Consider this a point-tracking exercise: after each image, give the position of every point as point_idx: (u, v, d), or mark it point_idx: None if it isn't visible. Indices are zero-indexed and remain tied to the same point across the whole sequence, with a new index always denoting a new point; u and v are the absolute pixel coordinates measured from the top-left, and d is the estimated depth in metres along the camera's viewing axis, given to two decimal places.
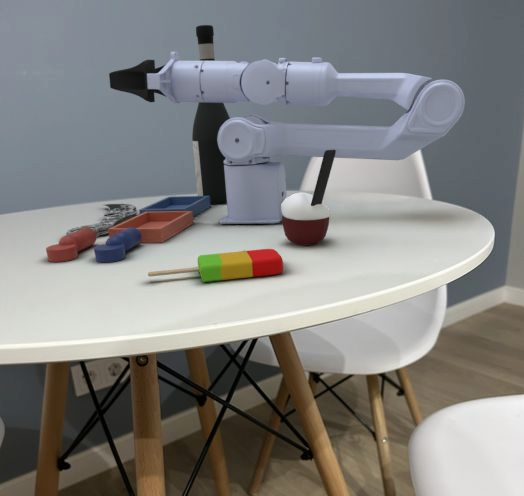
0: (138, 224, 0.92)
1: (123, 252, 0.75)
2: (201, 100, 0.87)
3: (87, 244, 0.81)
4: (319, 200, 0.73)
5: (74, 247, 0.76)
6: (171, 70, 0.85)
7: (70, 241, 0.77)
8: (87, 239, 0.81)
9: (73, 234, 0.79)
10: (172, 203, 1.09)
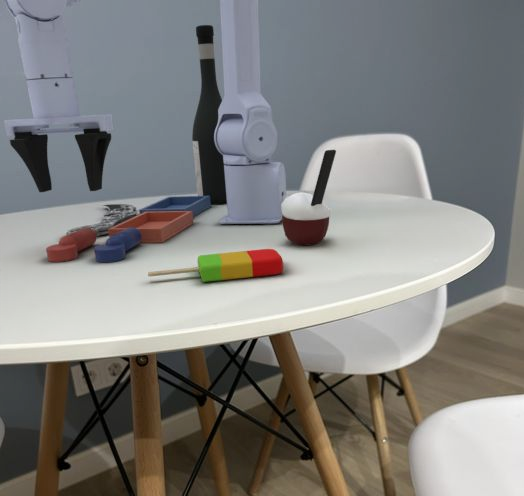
0: (138, 224, 0.92)
1: (123, 252, 0.75)
2: None
3: (87, 244, 0.81)
4: (319, 200, 0.73)
5: (74, 247, 0.76)
6: (68, 116, 0.73)
7: (70, 241, 0.77)
8: (87, 239, 0.81)
9: (73, 234, 0.79)
10: (172, 203, 1.09)
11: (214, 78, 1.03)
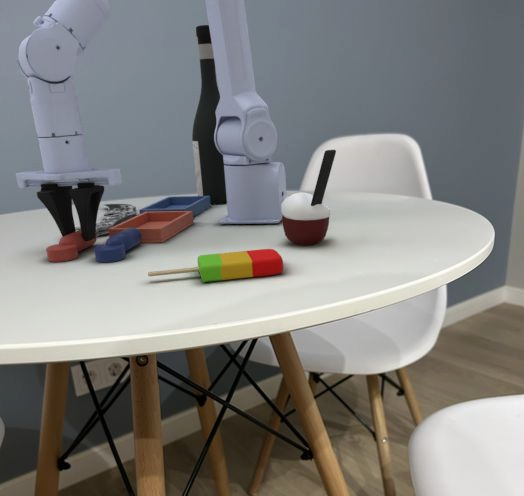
0: (138, 224, 0.92)
1: (123, 252, 0.75)
2: None
3: (87, 244, 0.81)
4: (319, 200, 0.73)
5: (74, 247, 0.76)
6: (78, 171, 0.75)
7: (70, 241, 0.77)
8: None
9: (73, 234, 0.79)
10: (172, 203, 1.09)
11: (214, 78, 1.03)
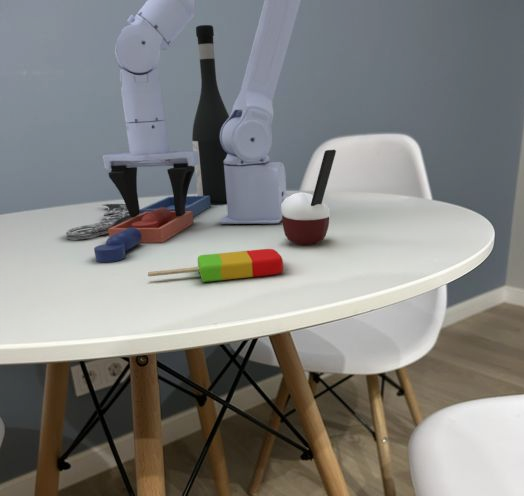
0: None
1: (123, 252, 0.75)
2: None
3: (164, 221, 0.90)
4: (319, 200, 0.73)
5: (157, 223, 0.86)
6: (161, 153, 0.85)
7: (152, 218, 0.87)
8: (165, 217, 0.90)
9: (154, 212, 0.88)
10: (172, 203, 1.09)
11: (214, 78, 1.03)
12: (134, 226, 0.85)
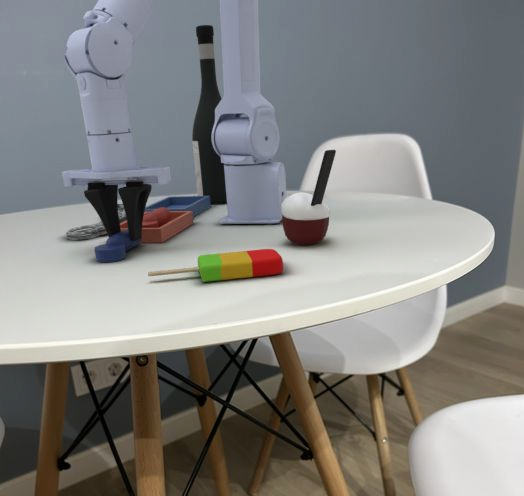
0: None
1: (123, 252, 0.75)
2: None
3: (164, 221, 0.90)
4: (319, 200, 0.73)
5: (157, 223, 0.86)
6: (128, 170, 0.74)
7: (152, 218, 0.87)
8: (165, 217, 0.90)
9: (154, 212, 0.88)
10: (172, 203, 1.09)
11: (214, 78, 1.03)
12: None
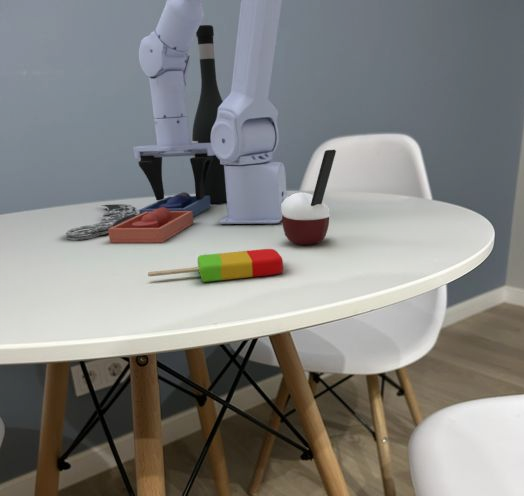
0: None
1: None
2: None
3: (164, 221, 0.90)
4: (319, 200, 0.73)
5: (157, 223, 0.86)
6: (184, 145, 0.98)
7: (152, 218, 0.87)
8: (165, 217, 0.90)
9: (154, 212, 0.88)
10: None
11: (214, 78, 1.03)
12: (134, 226, 0.85)
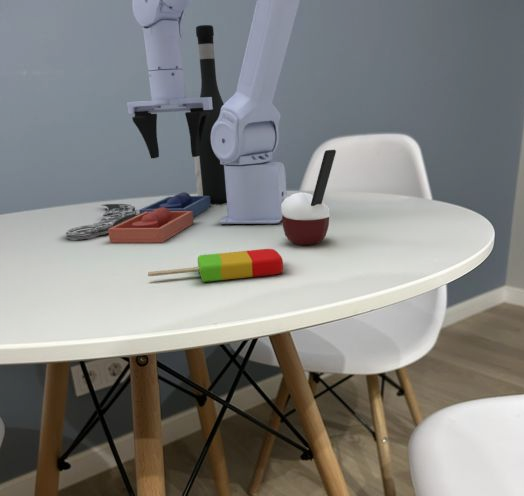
0: None
1: None
2: None
3: (164, 221, 0.90)
4: (319, 200, 0.73)
5: (157, 223, 0.86)
6: (180, 98, 0.95)
7: (152, 218, 0.87)
8: (165, 217, 0.90)
9: (154, 212, 0.88)
10: None
11: (214, 78, 1.03)
12: (134, 226, 0.85)
